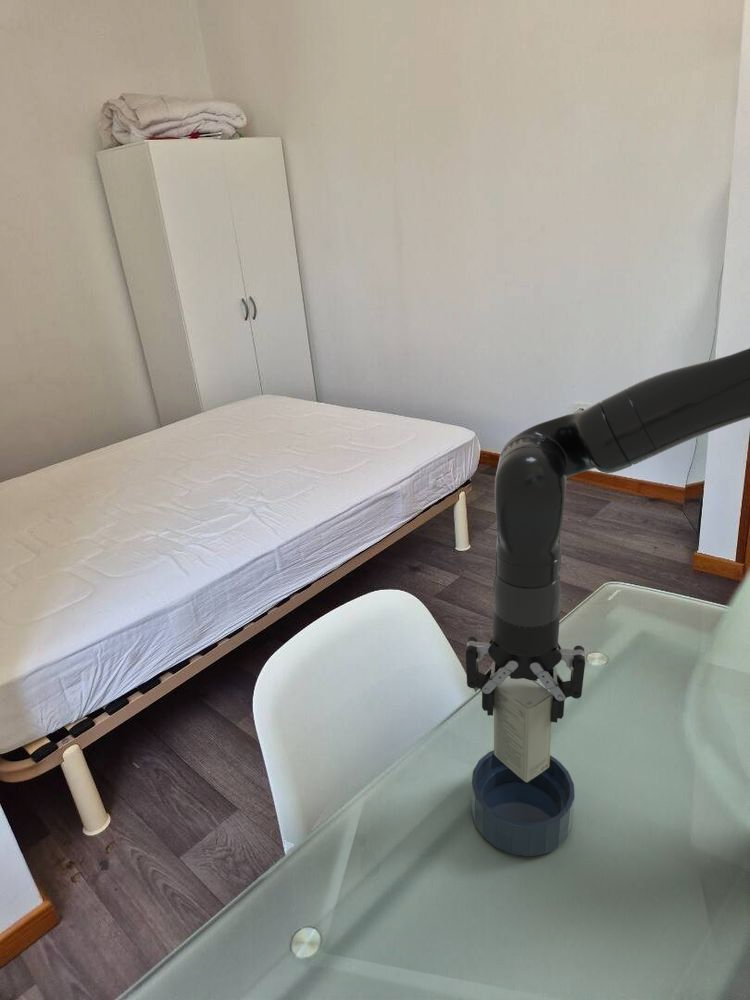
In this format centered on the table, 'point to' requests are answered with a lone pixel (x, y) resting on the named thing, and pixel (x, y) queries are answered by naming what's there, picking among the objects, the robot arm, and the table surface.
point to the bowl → (522, 806)
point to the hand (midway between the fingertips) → (522, 714)
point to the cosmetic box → (522, 726)
